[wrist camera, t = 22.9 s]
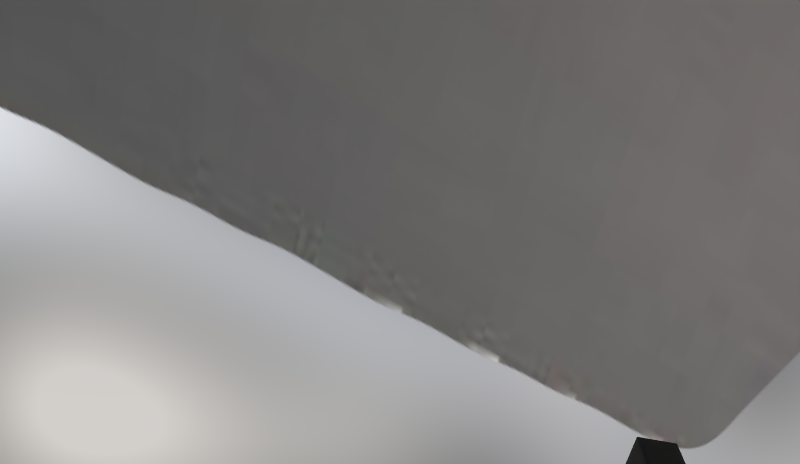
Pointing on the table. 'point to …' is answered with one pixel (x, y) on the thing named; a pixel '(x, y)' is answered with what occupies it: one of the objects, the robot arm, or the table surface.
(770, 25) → the table surface
